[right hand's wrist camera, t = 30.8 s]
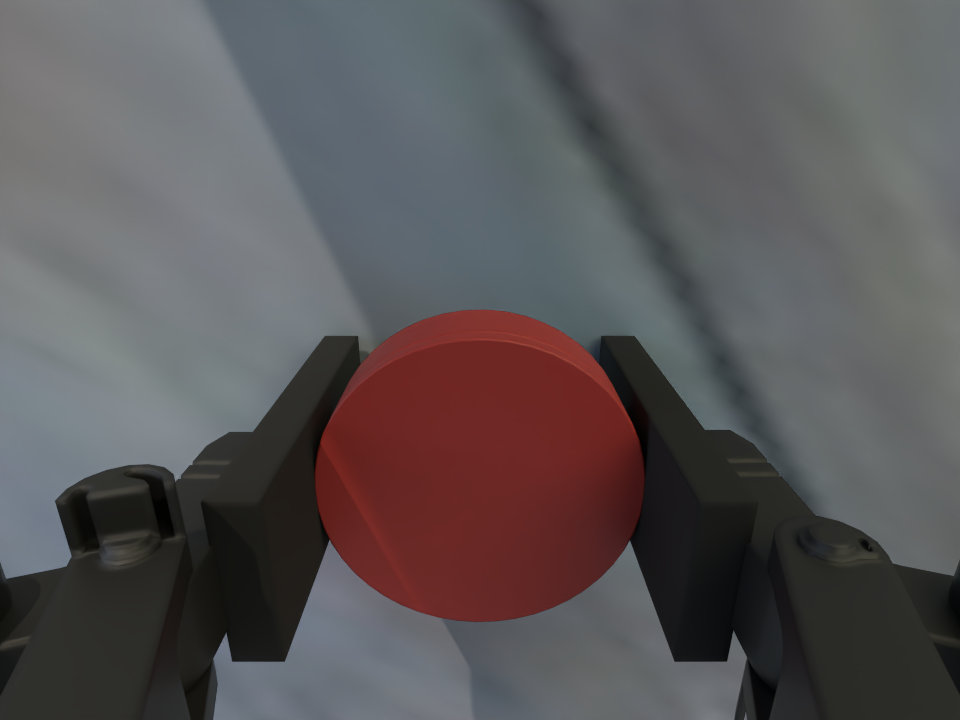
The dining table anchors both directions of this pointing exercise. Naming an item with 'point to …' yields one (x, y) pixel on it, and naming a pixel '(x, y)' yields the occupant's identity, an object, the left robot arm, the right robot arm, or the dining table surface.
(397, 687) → the dining table surface
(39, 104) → the dining table surface
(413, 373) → the lid
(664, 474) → the right robot arm
